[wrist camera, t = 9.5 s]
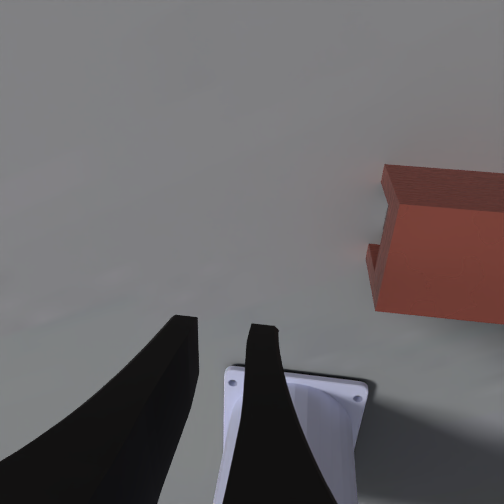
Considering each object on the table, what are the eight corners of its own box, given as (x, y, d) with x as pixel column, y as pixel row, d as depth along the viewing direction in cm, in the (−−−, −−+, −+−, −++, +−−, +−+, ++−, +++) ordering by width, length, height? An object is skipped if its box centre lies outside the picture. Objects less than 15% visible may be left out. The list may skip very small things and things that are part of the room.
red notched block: (521, 272, 20) (563, 330, 17) (365, 257, 21) (375, 310, 17) (561, 177, 18) (619, 222, 14) (384, 163, 18) (399, 204, 15)
